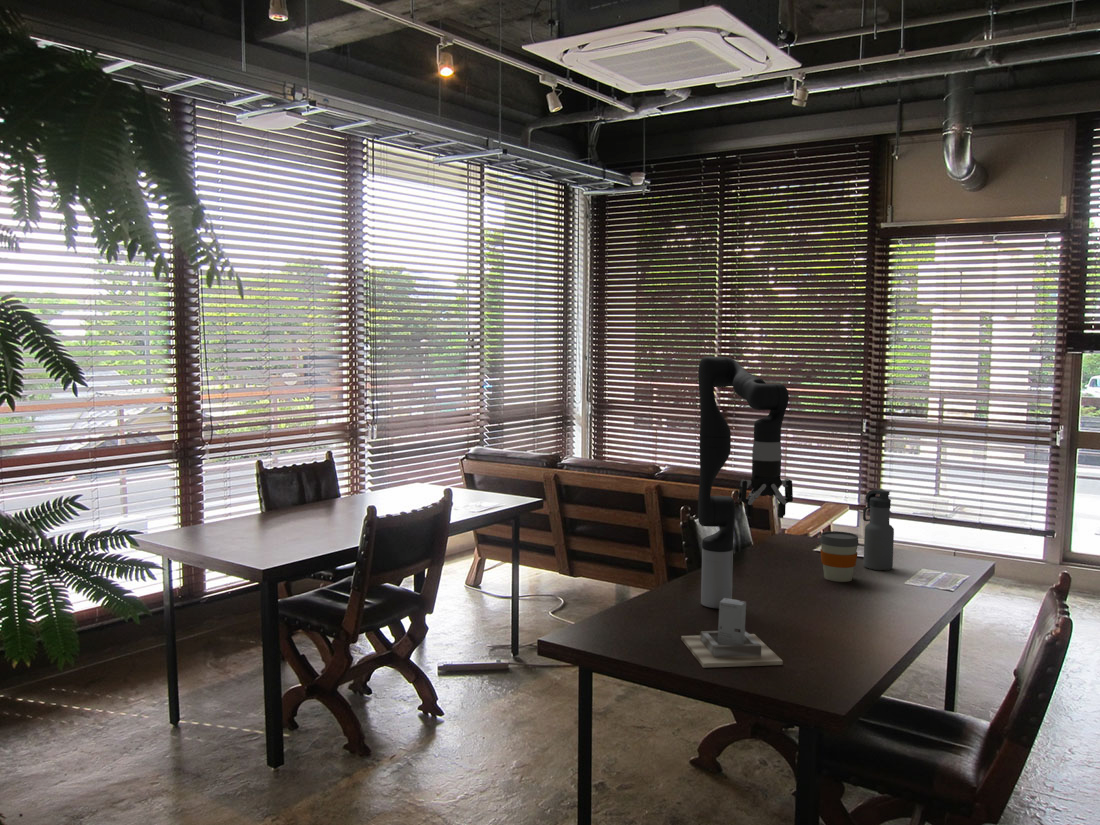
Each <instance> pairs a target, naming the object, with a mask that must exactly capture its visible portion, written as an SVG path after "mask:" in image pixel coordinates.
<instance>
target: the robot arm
mask: <svg viewBox="0 0 1100 825" xmlns="http://www.w3.org/2000/svg"><path fill="white" fill-rule="evenodd" d="M697 370H698V372H697V373H698V374H697V376H698V378H697V379H698V389H699V390H698V391H699V393H698V394H699V407H700V408H699V410H700V413H699V414H700V416H699V419H700V422H699V423H700V424H699V485H698V486H699V488H698V501H697V518H698V523H699V526H701V527H707V528H709V527H713V528H715V527H720V529H719V530H718V531H717V532H715V533H713V534H711V535H708V536H705V537H703V538H702V542H701V578H700V579H701V586H700V589H701V590H700V605H702V606H704V607H707V608H711V609H719V603H720V601H721V600H722V599H724V598H727V599H733V568H734V567H733V565H734V564H733V562H734V561H733V559H734V558H733V557H734V540H735V539H734V537H735V536H734V535H735V534H734V533H735V524H736V523H735V520H736V519H735V518H736V502H735V500H734V498H733V497H732V496H729V495H711V491H712V488H713V484H714V483H715V480H716V478H717V476H718V474H719V473H720V471H721V469H722V468H723V467H724V465H725V464H726V462H727V460H728V459H729V456H730V455H731V451H732V450H731V449H732V448H731V446H732V441H731V440H732V436H731V435H732V434H731V433H732V432H731V428H730V425H729V424H728V423H727V420H726V419H725V417H724V415H723V414H722V412H721V411H720V409H719V407H718V404H717V402H716V396H715V388H729V387H730V388H731V387H732V388H733V391H734V392H735V394H736V395H737V396H739V397H740V398H742V399H744V400H745V401H746V402H747V403H748V406H749V407H750V408H751V409H754V410H756V411H769V413H768V415H767V416H766V417H764V418H759V419H756V420H755V421H754V424H753V443H752V444H753V445H752V453H751V454H752V456H751V458H752V459H751V460H752V461H751V479H748V480H747V479H743V478H741V479H740V480H739V487H738V488H739V489H738V501H739V502H741V503H743V504H745V507H744V508H745V512H744V513H745V516H746V517H747V519H749V520H751V519H753V516H754V514H753V513H754V512H753V510H754V509H753V507H754V505H753V503H754V502H755V501H756V499H758V498H759V496H760V497H766V496H768V497H774V498H776V500H777V501H778V503H777V517H778V518H779V519H784V517H785V516H786V505H787V504H788V503H792V502H793V500H794V494H793V493H794V492H793V490H794V488H793V480H791V479H789V478H785V479H783V480H782V479H781V477H782V475H781V474H782V456H783V455H782V442H781V440H782V439H781V438H782V437H781V436H782V424H783V421H784V417H785V414H786V412H787V408H788V405H789V400H790V397H789V396H790V394H789V391H788V388H787V387H786V386H785V385H784V384H781V383H766V382H765V381H764V380H763V379H762V378H761V377H758V376H756V375H754V374H752V373H750V372H748V371H747V370H746V369H745V368H744V367H743V366H742V365H741V364H740V363H738V361H736V360H735V359H734V358H732V357H729V356H703V357H702V358H701V359H700V361H699V364H698V369H697ZM750 486H751V487H752V489H751V491H750V492H749V493H748V496H747V491H748V488H749V487H750ZM781 487H783V488H784V496H783V494H782V492H781V491H780V490H779V489H780V488H781Z"/></svg>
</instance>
